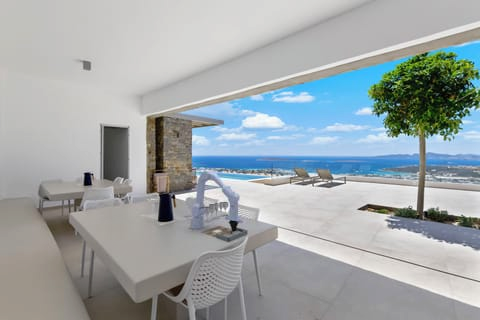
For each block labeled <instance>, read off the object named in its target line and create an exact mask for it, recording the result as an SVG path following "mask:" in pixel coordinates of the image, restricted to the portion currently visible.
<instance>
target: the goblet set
mask: <svg viewBox="0 0 480 320" xmlns="http://www.w3.org/2000/svg"><path fill="white" fill-rule="evenodd" d="M229 207H230V203H229V201H218V202H214V203H209V204H208V206H205V213H204V215H205V216H206V217H208V215H209V214H211V216H213V214H214V211H215V214H216V217H215V218H214V219H209V221H208V220H206V221H203V224H205V223H206V224H208V223H210V222H215V220H216V219H217V220H219V219H222V218H221V217H222V216H219V217H220V218H219V217H218V216H217V215H218V210H220V212H222V210H223V209H224V213H226V211H227V209H228V208H229ZM224 215H225V216H226V215H227V214H224Z"/></svg>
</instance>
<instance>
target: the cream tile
mask: <svg viewBox="0 0 480 320" xmlns="http://www.w3.org/2000/svg"><path fill="white" fill-rule="evenodd" d="M217 233H218V234H222V231H221V230H215V231H213V234H214V235H216V234H217Z"/></svg>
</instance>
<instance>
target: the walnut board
mask: <svg viewBox="0 0 480 320" xmlns="http://www.w3.org/2000/svg"><path fill="white" fill-rule="evenodd" d="M215 230H221V231H222V234H221V235H224V236H225V235H226V234H230V233H232V229H231V228H227V227H225V226H221V225H218V226H216V227H213V228H209V229H207V230H203V231H201V233H202V234H205V235H208V236H210V237H212V238H213V237H214V238H216V235H214V234H213V231H215Z"/></svg>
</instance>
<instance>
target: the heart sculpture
mask: <svg viewBox="0 0 480 320" xmlns="http://www.w3.org/2000/svg"><path fill="white" fill-rule="evenodd" d="M195 203H196V197H195V196H189V197H188V196H187V197H186V198H185V205H186V208H187V209H188V210H189V211H190V212H191V211H192V209H193V206H194V205H195ZM191 217H192V216H188V217H187V219H190V220H191Z"/></svg>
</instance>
